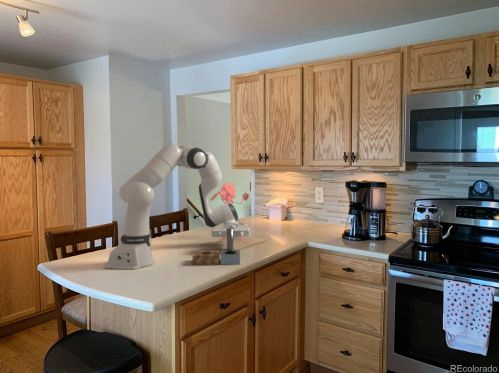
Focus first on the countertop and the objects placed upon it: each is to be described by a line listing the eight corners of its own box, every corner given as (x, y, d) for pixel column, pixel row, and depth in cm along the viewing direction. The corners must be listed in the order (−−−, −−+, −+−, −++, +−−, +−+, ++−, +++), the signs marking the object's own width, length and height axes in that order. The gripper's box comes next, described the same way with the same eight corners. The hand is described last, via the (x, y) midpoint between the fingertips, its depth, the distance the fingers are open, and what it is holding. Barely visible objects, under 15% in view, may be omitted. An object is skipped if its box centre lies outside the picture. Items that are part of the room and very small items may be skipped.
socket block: (220, 264, 178) (220, 255, 178) (221, 259, 187) (221, 250, 187) (240, 264, 179) (239, 254, 178) (239, 259, 188) (239, 250, 187)
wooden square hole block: (192, 265, 178) (192, 255, 178) (194, 260, 187) (194, 251, 187) (218, 264, 178) (218, 255, 178) (219, 259, 187) (219, 250, 187)
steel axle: (227, 262, 182) (226, 229, 180) (227, 261, 185) (226, 228, 184) (233, 262, 182) (233, 229, 180) (233, 260, 185) (233, 228, 184)
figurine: (253, 238, 236) (251, 181, 234) (218, 245, 219) (216, 183, 217) (237, 235, 247) (235, 181, 245) (203, 241, 231) (201, 183, 229)
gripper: (211, 224, 206) (209, 229, 192) (249, 223, 207) (250, 228, 193) (211, 236, 207) (210, 242, 193) (249, 235, 207) (250, 241, 194)
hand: (230, 235), depth 193 cm, fingers open, 8 cm apart
